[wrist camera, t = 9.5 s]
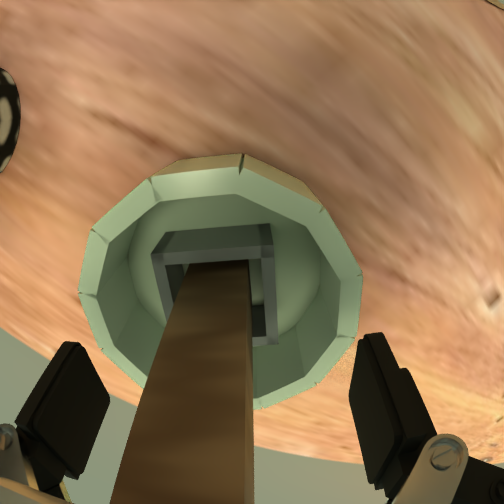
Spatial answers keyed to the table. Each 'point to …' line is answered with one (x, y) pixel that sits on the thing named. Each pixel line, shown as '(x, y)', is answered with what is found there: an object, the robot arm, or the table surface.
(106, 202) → the table surface
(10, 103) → the white-spotted black cylinder
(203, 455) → the wooden rectangular post
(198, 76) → the table surface
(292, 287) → the green faceted socket ring
